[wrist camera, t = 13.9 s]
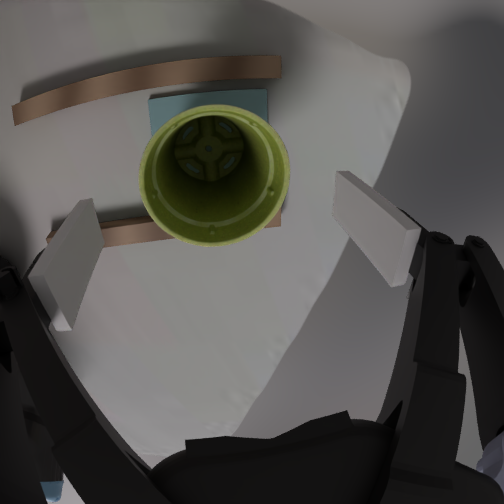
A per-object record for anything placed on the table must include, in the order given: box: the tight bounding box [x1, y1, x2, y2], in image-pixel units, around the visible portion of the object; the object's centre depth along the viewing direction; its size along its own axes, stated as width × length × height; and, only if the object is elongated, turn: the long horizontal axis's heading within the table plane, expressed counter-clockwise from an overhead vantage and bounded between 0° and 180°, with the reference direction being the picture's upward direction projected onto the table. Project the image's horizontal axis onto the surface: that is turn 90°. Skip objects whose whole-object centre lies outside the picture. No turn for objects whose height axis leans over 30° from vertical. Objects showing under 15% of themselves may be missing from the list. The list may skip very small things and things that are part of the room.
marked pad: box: [148, 89, 267, 173], centre depth 25 cm, size 10×10×1 cm
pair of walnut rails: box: [12, 55, 281, 248], centre depth 24 cm, size 24×16×2 cm, turn 91°
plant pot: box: [139, 104, 290, 247], centre depth 21 cm, size 9×9×9 cm
